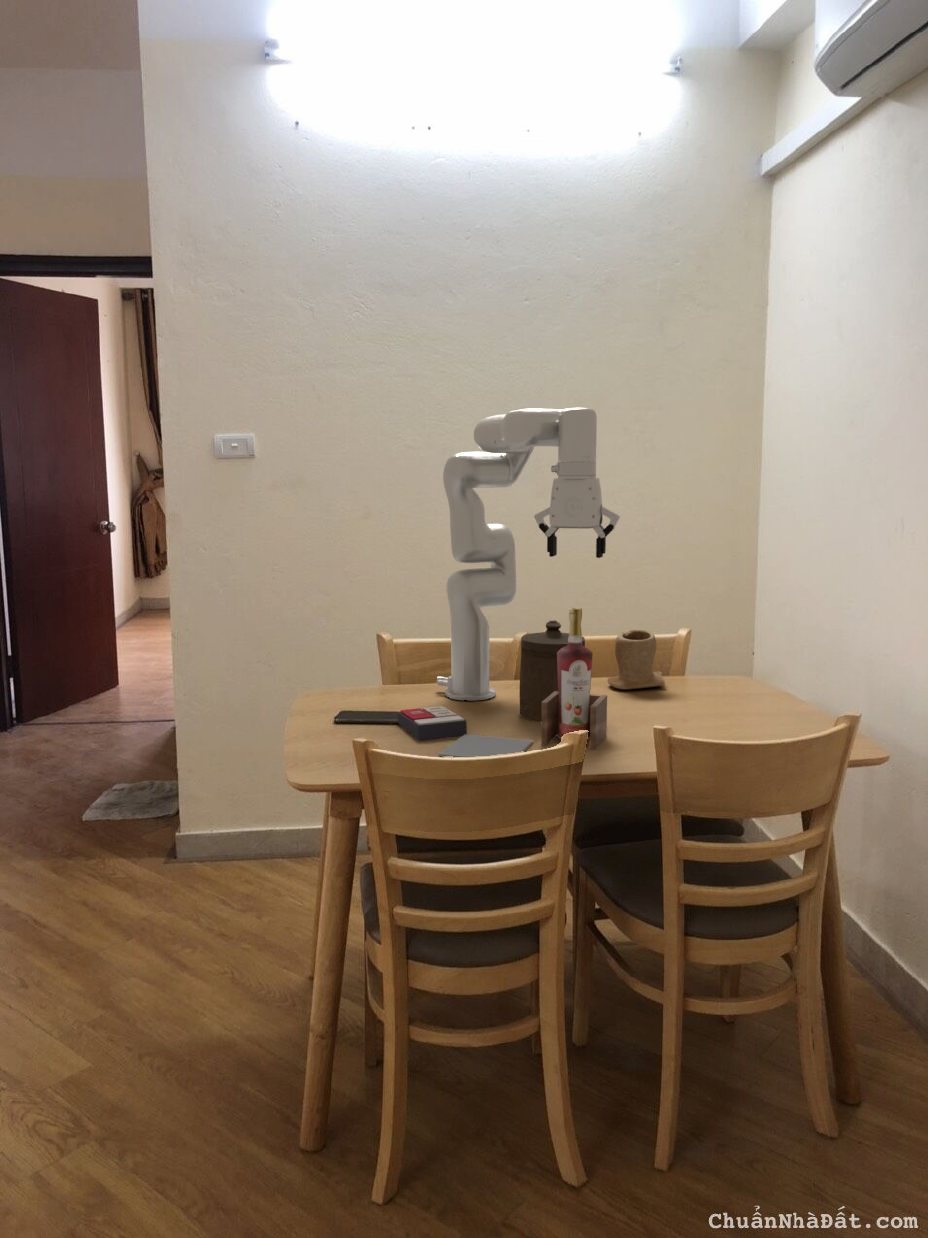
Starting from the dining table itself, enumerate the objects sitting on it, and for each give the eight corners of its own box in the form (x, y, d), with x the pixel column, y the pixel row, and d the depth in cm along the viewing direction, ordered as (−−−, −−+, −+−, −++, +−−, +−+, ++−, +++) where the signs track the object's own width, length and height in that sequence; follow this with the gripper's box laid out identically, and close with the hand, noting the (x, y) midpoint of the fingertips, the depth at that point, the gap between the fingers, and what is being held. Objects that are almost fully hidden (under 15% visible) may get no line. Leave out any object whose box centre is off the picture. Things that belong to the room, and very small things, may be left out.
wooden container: (588, 709, 227) (589, 617, 223) (578, 725, 213) (580, 627, 209) (526, 705, 231) (527, 614, 227) (513, 721, 217) (513, 624, 213)
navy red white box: (443, 704, 219) (467, 717, 205) (444, 722, 219) (467, 736, 205) (397, 708, 215) (417, 722, 201) (397, 727, 215) (418, 742, 201)
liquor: (560, 747, 197) (562, 612, 192) (552, 737, 204) (553, 606, 199) (595, 745, 198) (598, 611, 193) (585, 735, 205) (587, 605, 200)
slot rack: (541, 744, 199) (541, 702, 197) (554, 731, 208) (554, 690, 207) (595, 750, 195) (596, 706, 193) (606, 736, 204) (607, 695, 203)
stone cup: (620, 695, 240) (621, 636, 238) (602, 684, 251) (603, 628, 249) (676, 691, 244) (678, 633, 241) (655, 681, 255) (657, 625, 253)
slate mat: (438, 756, 191) (438, 753, 191) (465, 736, 205) (465, 733, 204) (510, 764, 185) (510, 761, 185) (532, 743, 199) (532, 740, 199)
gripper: (530, 471, 192) (529, 557, 195) (616, 471, 186) (614, 559, 189) (540, 471, 199) (540, 554, 201) (623, 471, 193) (622, 556, 195)
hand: (576, 556), depth 195 cm, fingers open, 9 cm apart
